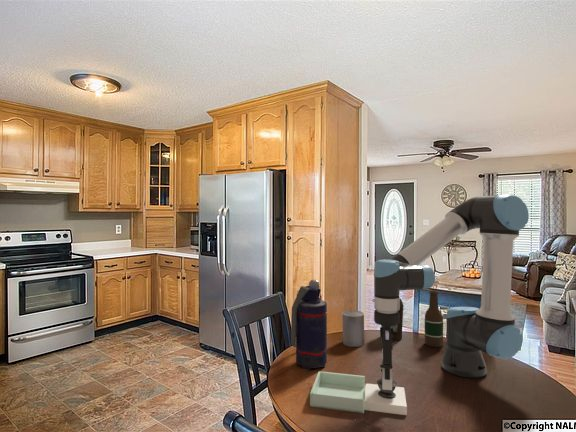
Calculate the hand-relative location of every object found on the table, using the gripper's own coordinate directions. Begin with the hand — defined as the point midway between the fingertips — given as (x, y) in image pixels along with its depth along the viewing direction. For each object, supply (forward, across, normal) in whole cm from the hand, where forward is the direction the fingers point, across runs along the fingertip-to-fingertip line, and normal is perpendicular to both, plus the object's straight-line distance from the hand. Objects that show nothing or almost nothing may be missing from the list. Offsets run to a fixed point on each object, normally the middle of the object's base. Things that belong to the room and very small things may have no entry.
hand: (386, 379), depth 112 cm
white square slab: (+7, 0, 0) cm, 7 cm away
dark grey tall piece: (+5, 0, 0) cm, 5 cm away
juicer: (+7, -40, -30) cm, 50 cm away
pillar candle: (+7, -50, -14) cm, 52 cm away
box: (+7, 0, -14) cm, 16 cm away
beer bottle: (+7, -57, +22) cm, 61 cm away
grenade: (+7, -22, -28) cm, 37 cm away
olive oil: (+7, -62, +4) cm, 63 cm away
